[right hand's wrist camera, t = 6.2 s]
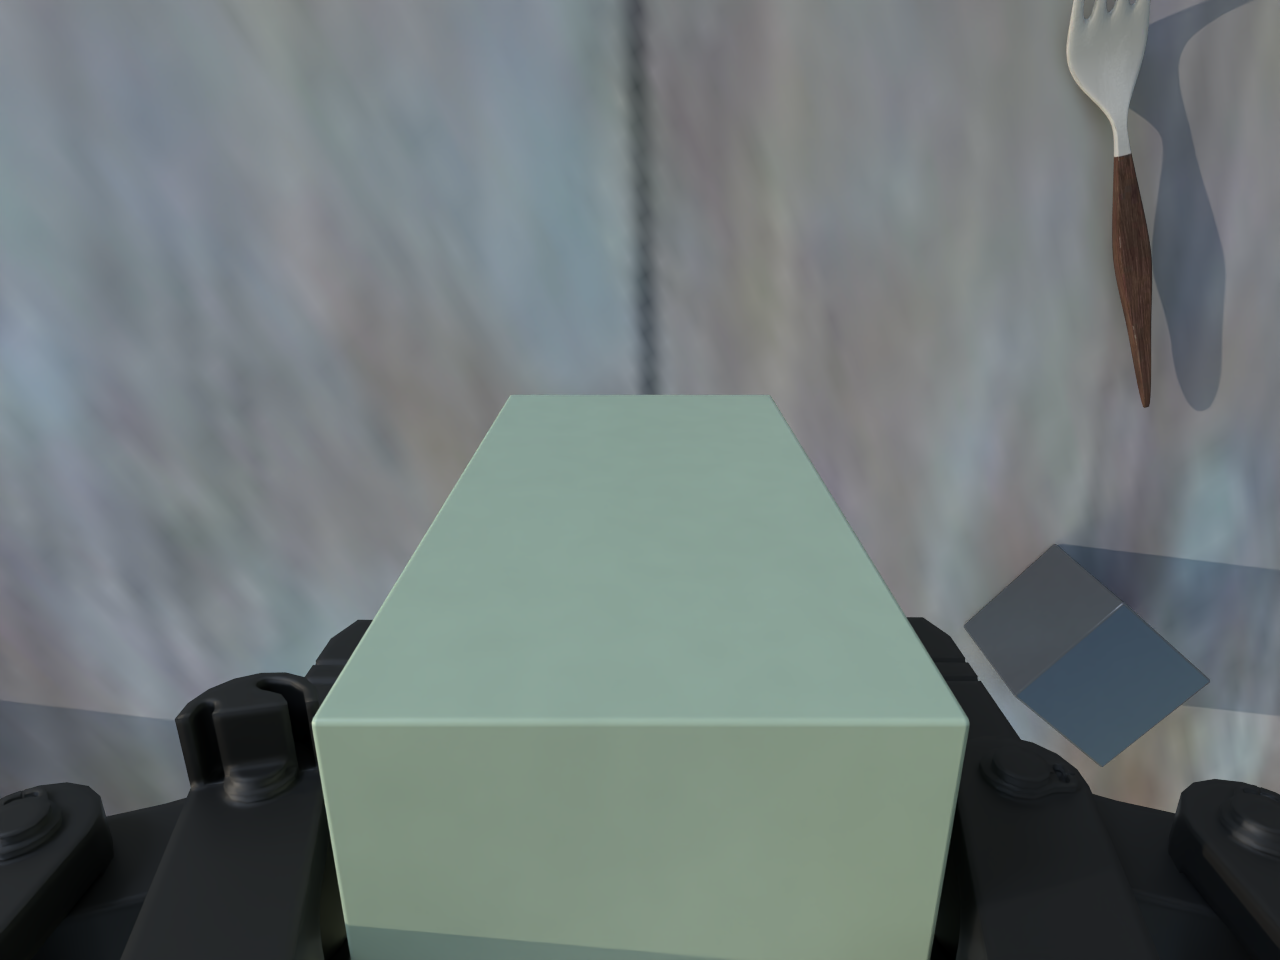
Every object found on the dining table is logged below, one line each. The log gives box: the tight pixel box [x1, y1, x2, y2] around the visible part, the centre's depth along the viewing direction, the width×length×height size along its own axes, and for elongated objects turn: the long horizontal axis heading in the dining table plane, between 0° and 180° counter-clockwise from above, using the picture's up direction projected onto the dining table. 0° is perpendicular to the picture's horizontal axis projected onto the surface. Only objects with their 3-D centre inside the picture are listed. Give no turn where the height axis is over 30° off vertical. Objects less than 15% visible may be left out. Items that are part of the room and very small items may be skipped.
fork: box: [1066, 0, 1152, 408], centre depth 27 cm, size 3×16×2 cm, turn 17°
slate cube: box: [964, 544, 1210, 767], centre depth 32 cm, size 5×5×5 cm
